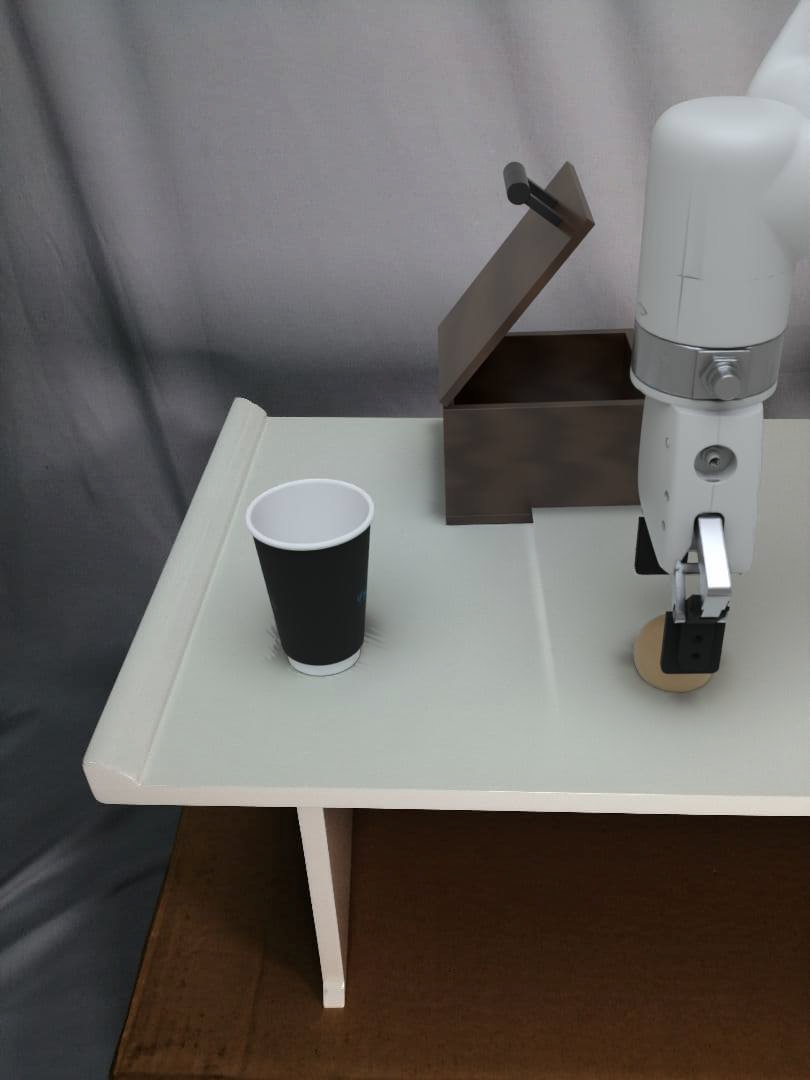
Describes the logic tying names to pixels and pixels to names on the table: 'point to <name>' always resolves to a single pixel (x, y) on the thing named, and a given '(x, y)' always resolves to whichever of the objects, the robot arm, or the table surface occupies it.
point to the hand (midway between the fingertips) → (673, 618)
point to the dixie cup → (315, 568)
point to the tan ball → (649, 660)
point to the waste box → (544, 428)
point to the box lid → (512, 273)
